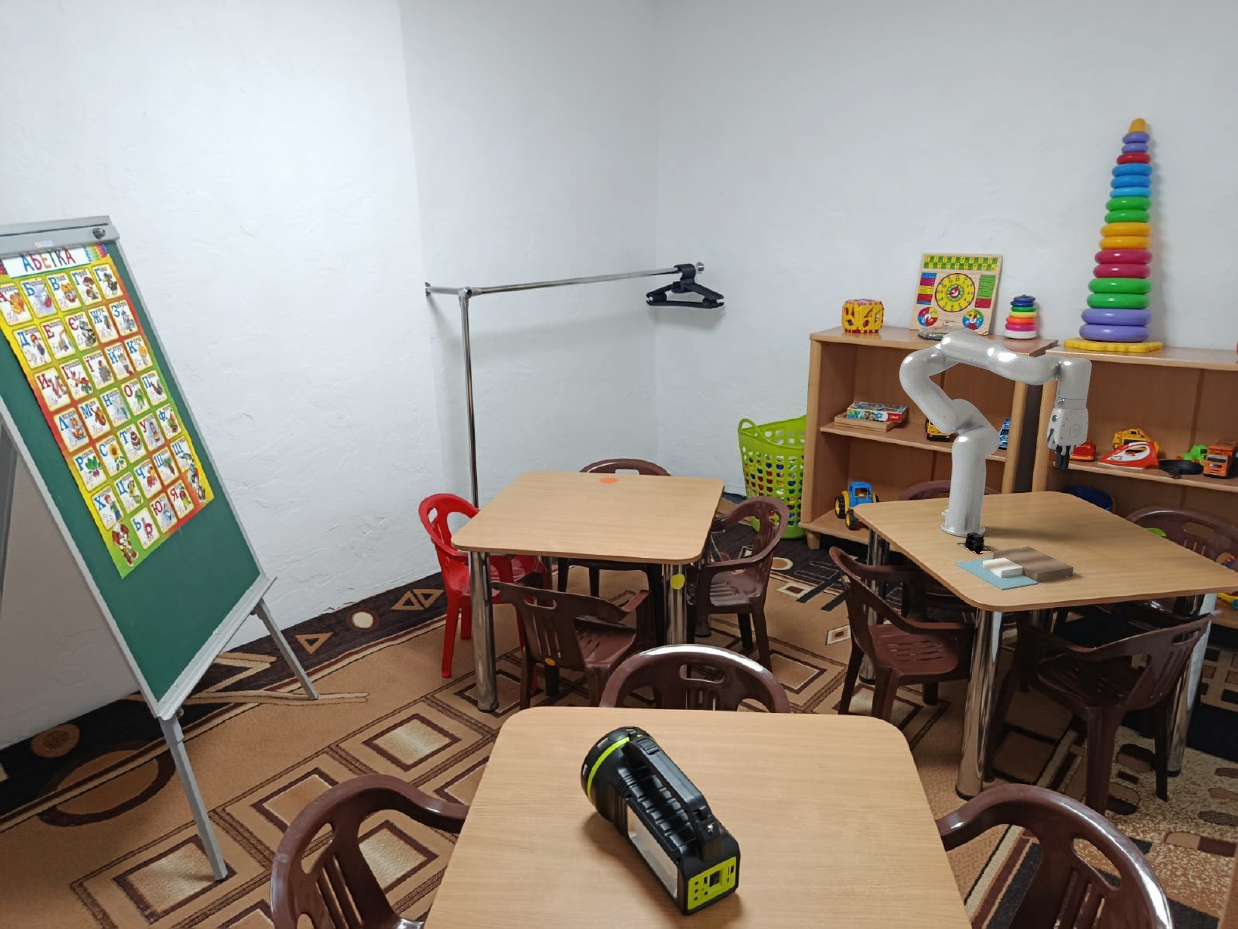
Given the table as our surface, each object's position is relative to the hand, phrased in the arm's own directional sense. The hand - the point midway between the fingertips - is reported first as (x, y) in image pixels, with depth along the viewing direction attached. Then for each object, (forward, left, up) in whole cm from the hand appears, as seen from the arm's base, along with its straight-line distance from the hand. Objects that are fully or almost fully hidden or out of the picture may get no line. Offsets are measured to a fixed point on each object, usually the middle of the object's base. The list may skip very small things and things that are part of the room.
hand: (1061, 467), depth 232 cm
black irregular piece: (-9, -18, -26) cm, 33 cm away
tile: (+8, -24, -25) cm, 35 cm away
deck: (+8, -14, -25) cm, 30 cm away
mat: (+8, -26, -25) cm, 37 cm away
